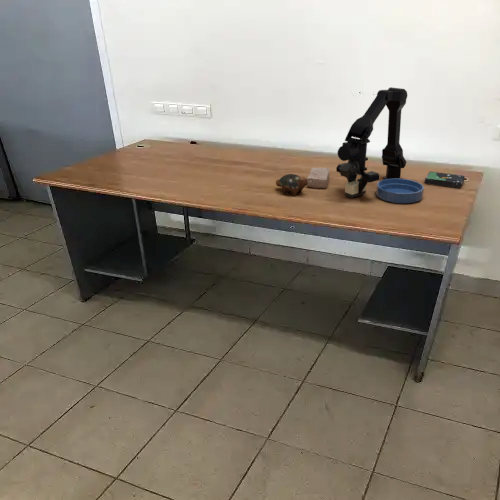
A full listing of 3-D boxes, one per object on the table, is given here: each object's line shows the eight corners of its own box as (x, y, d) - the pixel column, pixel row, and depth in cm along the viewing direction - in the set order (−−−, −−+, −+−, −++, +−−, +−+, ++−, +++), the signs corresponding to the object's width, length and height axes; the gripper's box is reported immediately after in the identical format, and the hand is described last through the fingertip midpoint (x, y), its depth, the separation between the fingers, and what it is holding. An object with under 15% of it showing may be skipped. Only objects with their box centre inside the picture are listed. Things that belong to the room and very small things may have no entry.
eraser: (351, 197, 203) (352, 186, 201) (344, 195, 206) (345, 183, 204) (365, 193, 207) (366, 181, 205) (358, 190, 210) (359, 179, 208)
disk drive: (463, 181, 220) (428, 176, 226) (464, 175, 219) (429, 170, 225) (460, 189, 212) (424, 183, 218) (461, 182, 210) (425, 177, 217)
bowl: (367, 191, 211) (368, 181, 209) (405, 186, 216) (406, 176, 214) (391, 207, 195) (393, 196, 193) (431, 200, 200) (433, 190, 198)
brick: (311, 176, 230) (311, 166, 228) (329, 176, 229) (330, 166, 227) (306, 188, 216) (307, 178, 214) (326, 189, 214) (327, 179, 212)
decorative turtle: (303, 199, 205) (301, 180, 201) (271, 195, 213) (269, 176, 209) (313, 190, 212) (312, 172, 208) (282, 187, 220) (280, 169, 216)
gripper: (327, 153, 202) (325, 190, 209) (361, 164, 189) (358, 203, 196) (347, 148, 208) (344, 184, 215) (382, 159, 194) (378, 197, 201)
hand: (355, 192), depth 207 cm, fingers closed on eraser, 4 cm apart
